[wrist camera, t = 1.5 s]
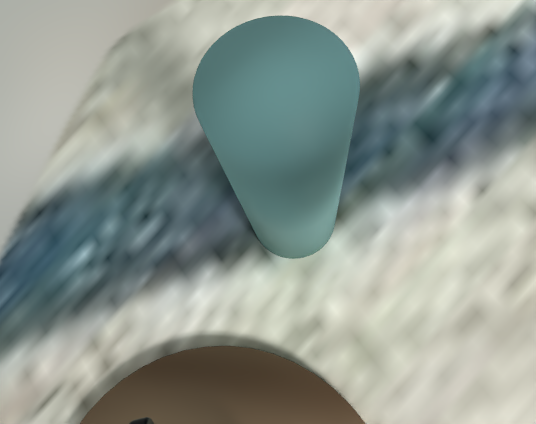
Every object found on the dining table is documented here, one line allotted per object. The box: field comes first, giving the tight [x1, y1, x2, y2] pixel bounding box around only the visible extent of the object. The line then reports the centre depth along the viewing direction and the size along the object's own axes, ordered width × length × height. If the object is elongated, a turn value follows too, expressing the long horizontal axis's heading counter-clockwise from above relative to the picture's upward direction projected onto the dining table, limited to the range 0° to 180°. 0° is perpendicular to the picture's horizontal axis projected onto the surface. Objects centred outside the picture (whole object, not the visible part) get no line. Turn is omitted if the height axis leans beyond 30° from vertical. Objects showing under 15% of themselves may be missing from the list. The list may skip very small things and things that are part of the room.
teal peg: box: [193, 16, 360, 258], centre depth 18 cm, size 4×4×13 cm
